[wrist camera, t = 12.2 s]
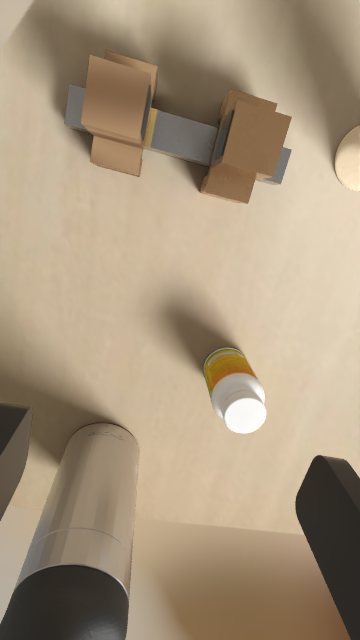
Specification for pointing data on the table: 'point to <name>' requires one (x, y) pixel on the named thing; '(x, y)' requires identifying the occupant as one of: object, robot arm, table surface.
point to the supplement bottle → (235, 390)
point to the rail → (173, 136)
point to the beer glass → (349, 160)
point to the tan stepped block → (118, 110)
